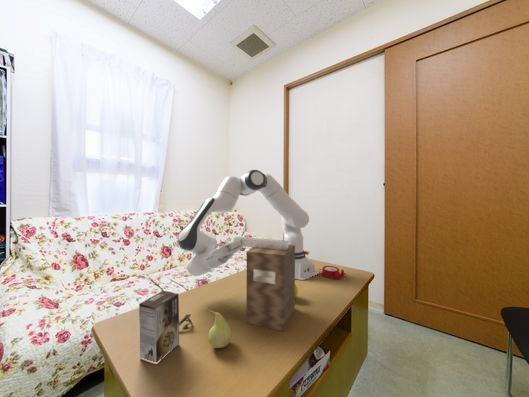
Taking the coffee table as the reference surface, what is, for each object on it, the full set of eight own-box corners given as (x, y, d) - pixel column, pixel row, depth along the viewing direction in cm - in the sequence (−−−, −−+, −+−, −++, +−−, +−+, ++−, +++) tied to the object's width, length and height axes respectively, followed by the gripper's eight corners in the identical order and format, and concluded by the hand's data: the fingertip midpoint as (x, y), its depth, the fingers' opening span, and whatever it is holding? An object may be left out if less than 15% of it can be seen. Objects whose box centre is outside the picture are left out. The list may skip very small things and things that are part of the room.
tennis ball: (300, 300, 96) (300, 284, 96) (286, 303, 93) (286, 287, 93) (292, 294, 103) (292, 279, 102) (279, 296, 100) (279, 281, 100)
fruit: (232, 352, 64) (232, 311, 64) (206, 356, 63) (205, 314, 63) (231, 337, 71) (231, 301, 71) (207, 341, 69) (207, 303, 69)
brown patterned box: (245, 323, 79) (245, 251, 78) (262, 302, 94) (262, 242, 94) (283, 332, 74) (283, 255, 73) (294, 308, 89) (294, 245, 89)
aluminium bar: (233, 245, 88) (233, 238, 88) (237, 243, 91) (237, 236, 91) (286, 250, 80) (286, 242, 80) (288, 248, 83) (288, 240, 83)
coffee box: (163, 340, 70) (163, 289, 70) (180, 344, 68) (179, 292, 68) (138, 360, 61) (138, 303, 61) (156, 366, 59) (156, 307, 59)
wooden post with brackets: (195, 323, 78) (190, 313, 77) (174, 340, 73) (168, 330, 72) (193, 320, 79) (188, 311, 78) (172, 337, 75) (167, 327, 74)
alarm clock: (325, 264, 135) (348, 264, 125) (327, 275, 134) (351, 276, 124) (316, 268, 128) (339, 268, 117) (318, 279, 127) (342, 280, 116)
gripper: (199, 254, 84) (226, 238, 79) (227, 243, 103) (250, 230, 98) (206, 269, 82) (234, 254, 78) (233, 255, 102) (256, 242, 97)
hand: (243, 240), depth 88 cm, fingers closed on aluminium bar, 3 cm apart
